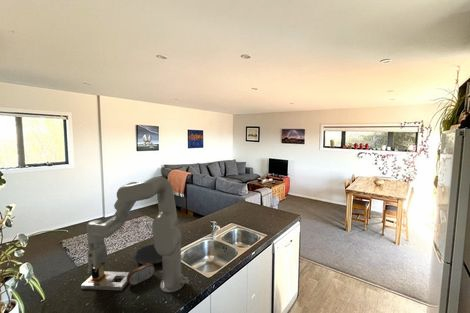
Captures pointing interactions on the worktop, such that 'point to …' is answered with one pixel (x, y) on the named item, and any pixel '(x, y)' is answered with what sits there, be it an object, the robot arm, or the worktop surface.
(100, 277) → the brass peg
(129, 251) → the worktop surface
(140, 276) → the tin
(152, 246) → the bowl
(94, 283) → the rail plate
